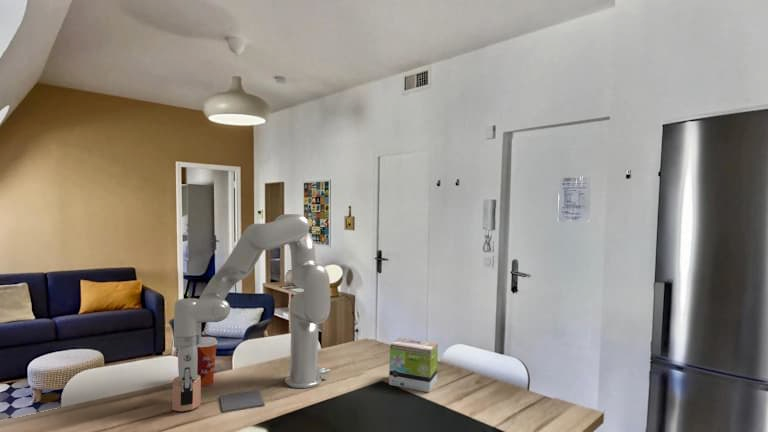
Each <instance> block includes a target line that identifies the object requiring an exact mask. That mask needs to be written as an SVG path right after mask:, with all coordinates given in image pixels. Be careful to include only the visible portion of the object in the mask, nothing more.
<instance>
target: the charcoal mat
mask: <svg viewBox="0 0 768 432" xmlns="http://www.w3.org/2000/svg"><path fill="white" fill-rule="evenodd" d="M219 400H220V405H221V410H222V413H228V412H229V413H230V412H235V411H243V410H249V409H253V408H255V409H256V408H261V407H265V405H266V404H265V402H264V399H263V397H262V395H261V392H260V390H259V389H257V390H249V391H242V392H235V393H227V394H222V395H219Z"/></svg>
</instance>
